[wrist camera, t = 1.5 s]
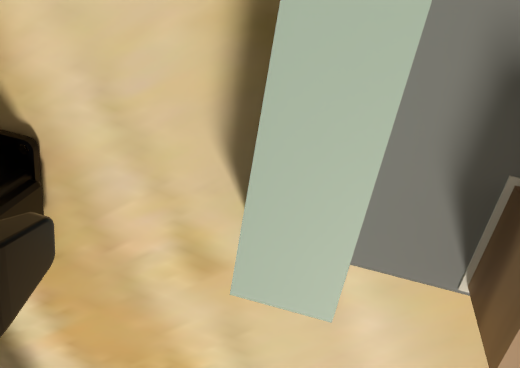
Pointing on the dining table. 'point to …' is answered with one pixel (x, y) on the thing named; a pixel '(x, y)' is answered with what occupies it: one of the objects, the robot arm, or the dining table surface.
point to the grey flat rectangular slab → (449, 148)
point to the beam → (321, 145)
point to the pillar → (500, 289)
